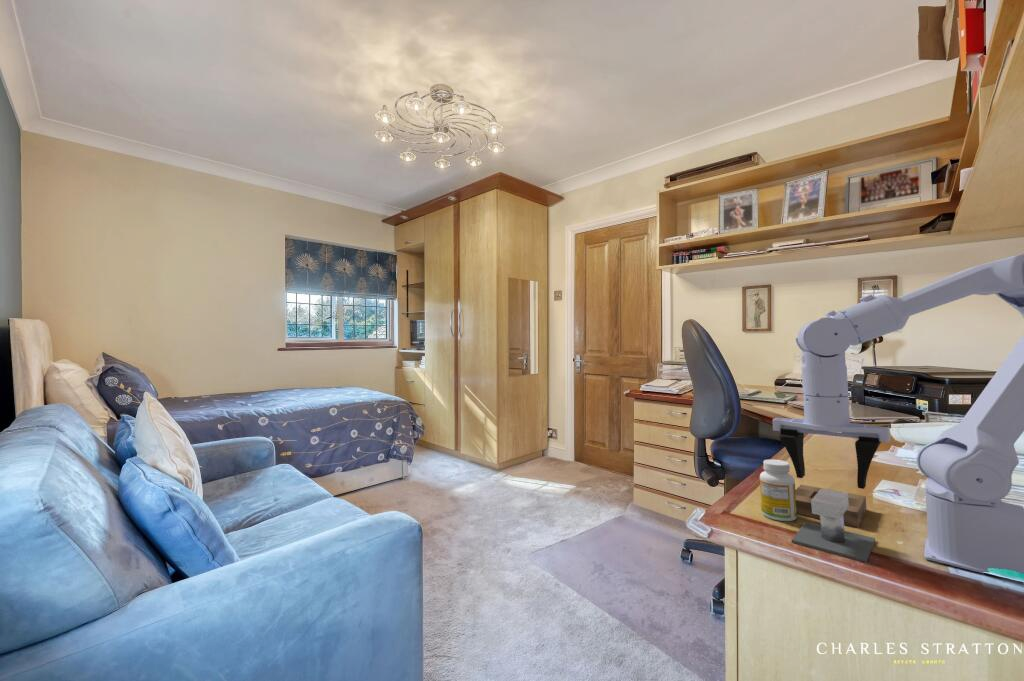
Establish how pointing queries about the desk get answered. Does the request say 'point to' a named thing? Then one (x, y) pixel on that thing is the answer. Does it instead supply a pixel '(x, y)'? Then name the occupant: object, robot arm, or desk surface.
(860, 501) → the socket block
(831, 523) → the steel t key
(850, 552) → the charcoal mat
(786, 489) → the supplement bottle
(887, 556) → the desk surface
